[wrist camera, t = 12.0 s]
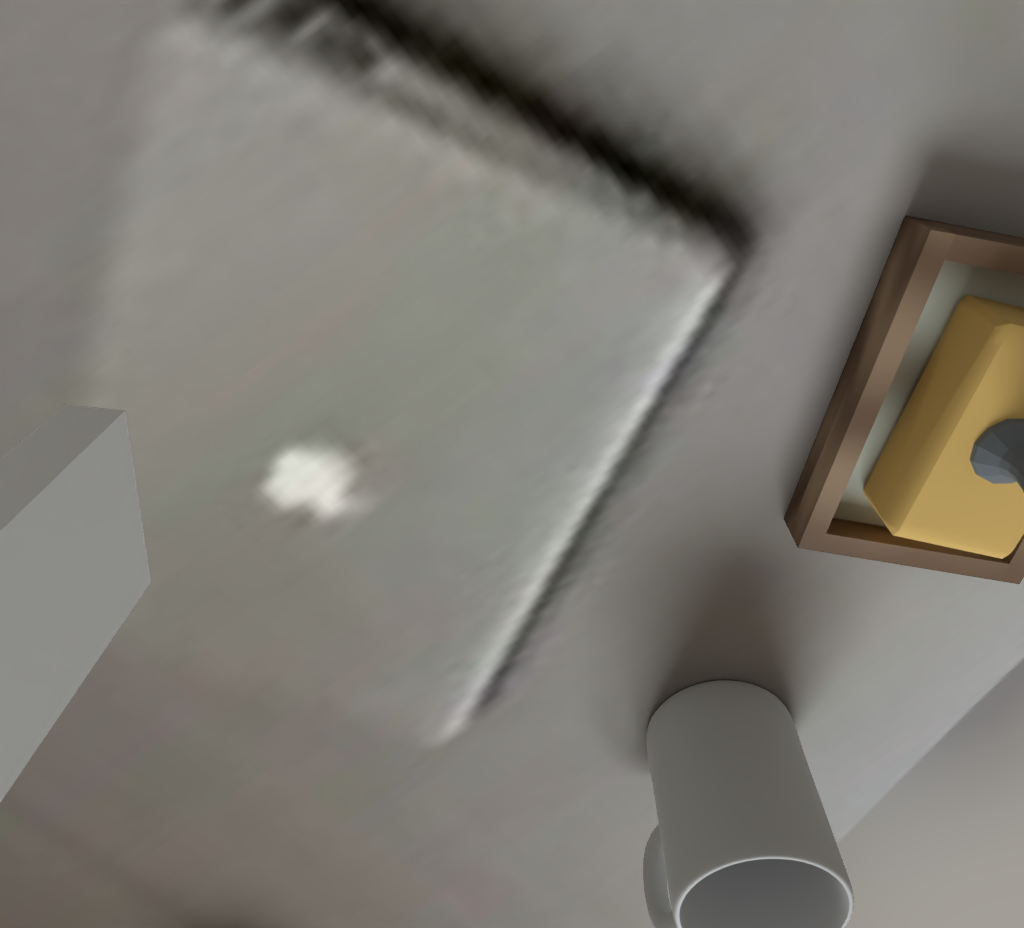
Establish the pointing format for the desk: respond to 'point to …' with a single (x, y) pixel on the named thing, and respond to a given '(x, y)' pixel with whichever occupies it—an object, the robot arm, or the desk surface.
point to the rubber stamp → (961, 439)
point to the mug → (737, 817)
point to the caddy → (900, 393)
